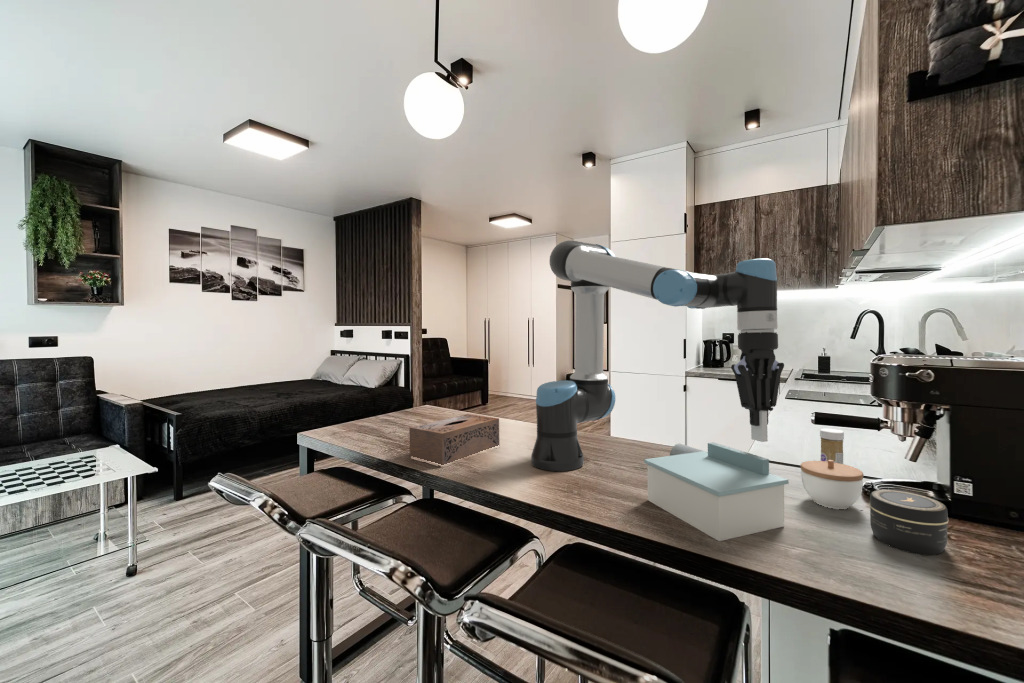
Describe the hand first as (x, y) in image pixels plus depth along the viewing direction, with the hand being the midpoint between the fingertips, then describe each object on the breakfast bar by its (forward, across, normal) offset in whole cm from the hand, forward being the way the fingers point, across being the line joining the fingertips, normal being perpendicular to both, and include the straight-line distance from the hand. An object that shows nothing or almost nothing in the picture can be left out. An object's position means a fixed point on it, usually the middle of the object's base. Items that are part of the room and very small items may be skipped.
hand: (759, 440), depth 91 cm
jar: (+14, +9, -22) cm, 27 cm away
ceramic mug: (+14, 0, +21) cm, 25 cm away
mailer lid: (+5, -13, 0) cm, 14 cm away
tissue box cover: (+13, -53, +64) cm, 85 cm away
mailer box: (+14, -13, 0) cm, 19 cm away
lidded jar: (+14, +14, -6) cm, 20 cm away
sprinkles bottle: (+14, +25, +1) cm, 28 cm away
